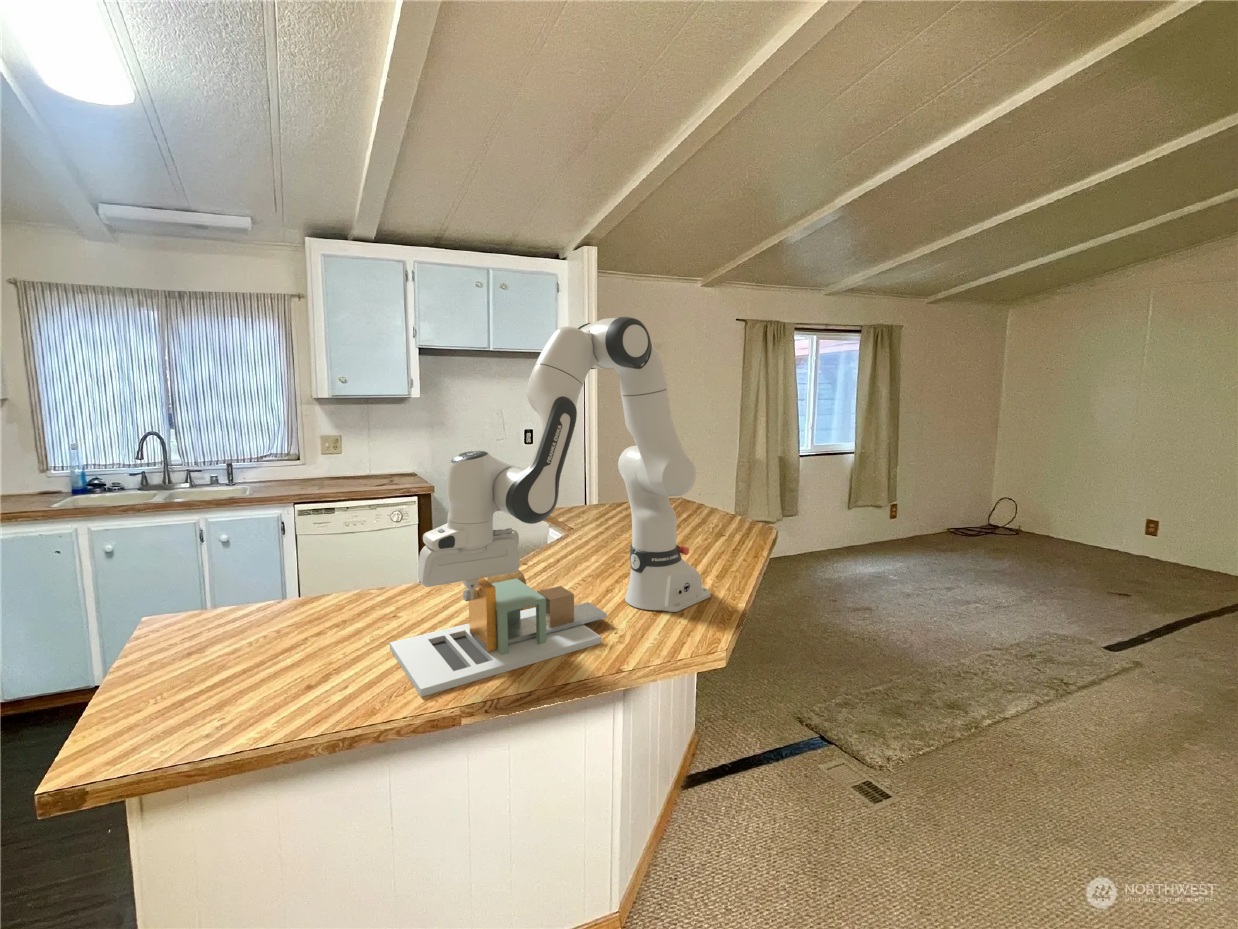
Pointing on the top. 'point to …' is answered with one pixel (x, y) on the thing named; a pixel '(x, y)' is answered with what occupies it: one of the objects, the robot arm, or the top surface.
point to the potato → (507, 577)
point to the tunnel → (517, 609)
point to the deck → (478, 655)
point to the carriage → (557, 617)
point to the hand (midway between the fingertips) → (471, 599)
